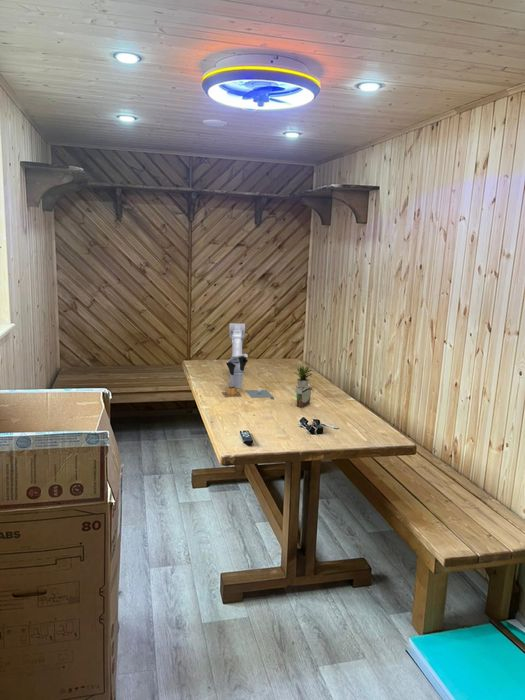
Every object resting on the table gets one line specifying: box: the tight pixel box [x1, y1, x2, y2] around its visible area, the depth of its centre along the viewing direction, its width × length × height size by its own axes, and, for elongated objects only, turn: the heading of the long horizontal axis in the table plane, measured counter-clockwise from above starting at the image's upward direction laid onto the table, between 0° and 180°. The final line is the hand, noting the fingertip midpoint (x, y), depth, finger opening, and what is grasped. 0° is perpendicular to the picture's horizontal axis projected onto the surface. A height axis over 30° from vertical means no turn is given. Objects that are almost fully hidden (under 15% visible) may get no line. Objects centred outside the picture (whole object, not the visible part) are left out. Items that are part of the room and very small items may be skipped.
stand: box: [221, 391, 243, 398], centre depth 310 cm, size 12×10×4 cm
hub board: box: [244, 387, 275, 400], centre depth 313 cm, size 18×13×4 cm
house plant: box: [294, 363, 316, 387], centre depth 330 cm, size 14×14×16 cm
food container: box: [294, 385, 312, 409], centre depth 295 cm, size 12×6×10 cm, turn 149°
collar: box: [226, 385, 238, 396], centre depth 309 cm, size 6×6×4 cm
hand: (236, 372), depth 306 cm, fingers open, 7 cm apart
